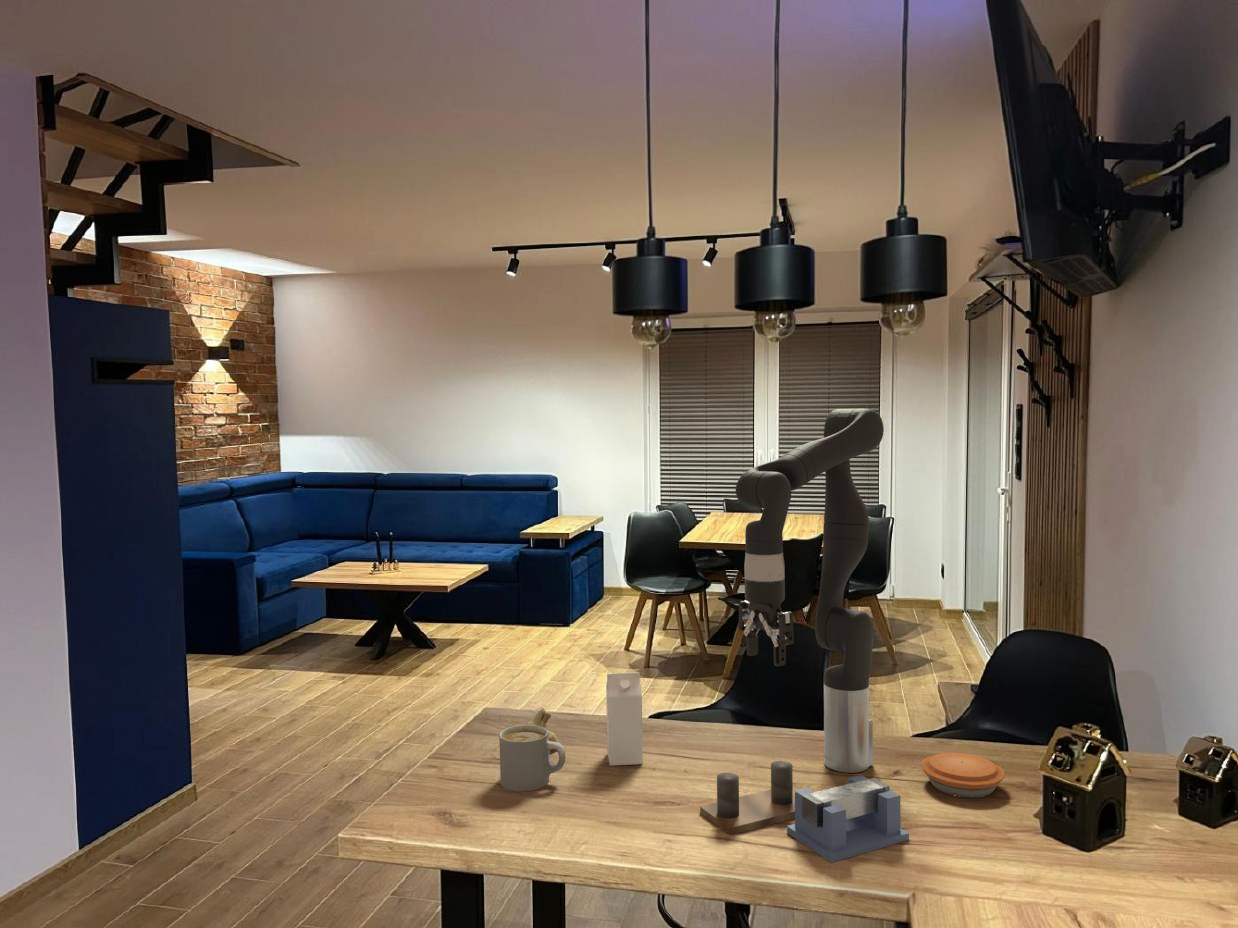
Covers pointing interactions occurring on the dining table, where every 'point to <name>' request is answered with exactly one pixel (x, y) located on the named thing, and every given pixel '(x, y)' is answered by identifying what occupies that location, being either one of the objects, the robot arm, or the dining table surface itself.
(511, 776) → the coffee mug
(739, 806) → the stand
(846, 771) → the robot arm
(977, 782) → the pie
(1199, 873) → the dining table surface
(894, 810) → the notched cradle
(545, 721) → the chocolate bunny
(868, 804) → the steel bar
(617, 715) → the milk carton
